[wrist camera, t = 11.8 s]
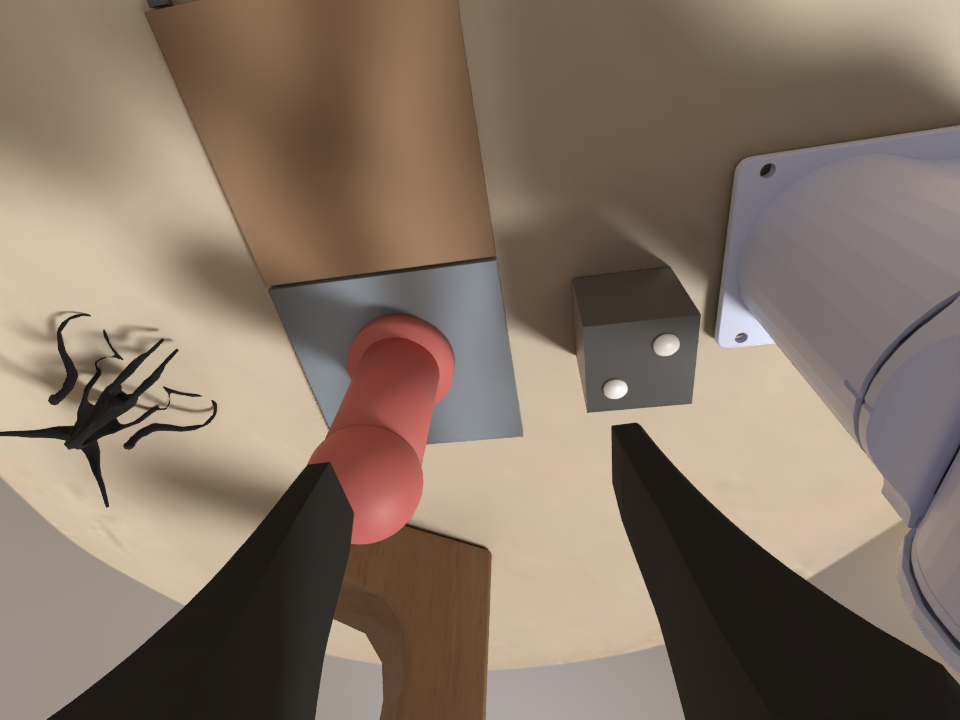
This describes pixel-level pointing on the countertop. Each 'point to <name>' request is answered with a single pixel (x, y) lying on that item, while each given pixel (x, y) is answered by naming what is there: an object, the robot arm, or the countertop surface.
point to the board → (354, 180)
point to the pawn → (387, 421)
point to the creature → (104, 409)
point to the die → (635, 339)
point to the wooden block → (423, 622)
